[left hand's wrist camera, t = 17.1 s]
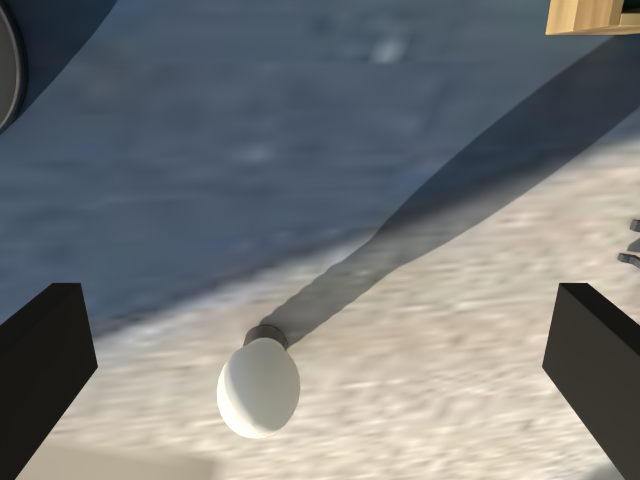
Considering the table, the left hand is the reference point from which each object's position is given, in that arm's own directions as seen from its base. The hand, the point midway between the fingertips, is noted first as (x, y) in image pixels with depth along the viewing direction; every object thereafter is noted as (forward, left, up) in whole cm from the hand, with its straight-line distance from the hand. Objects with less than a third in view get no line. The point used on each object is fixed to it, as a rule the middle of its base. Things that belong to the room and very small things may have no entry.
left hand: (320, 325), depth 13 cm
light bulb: (-5, -18, -27) cm, 33 cm away
